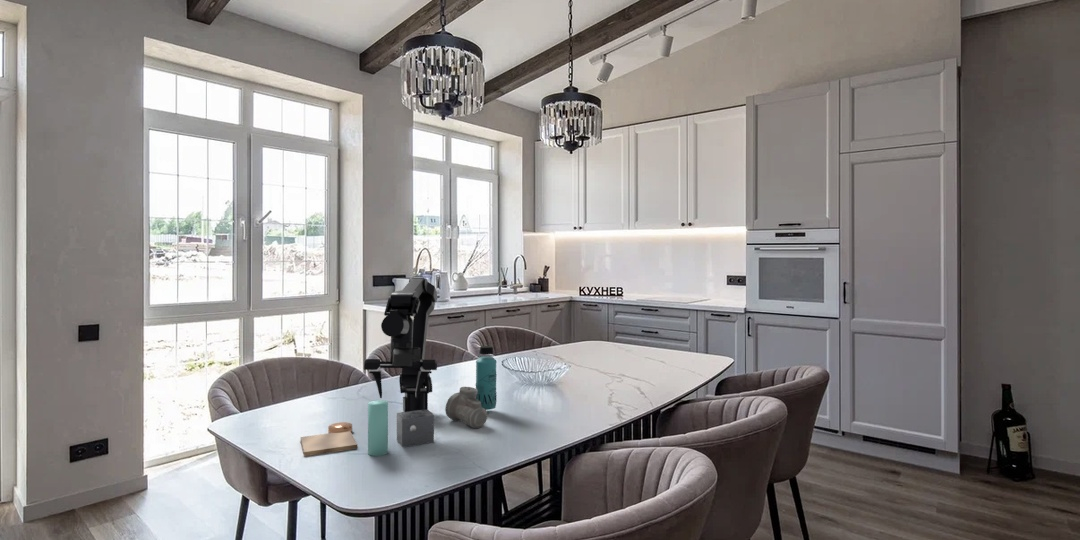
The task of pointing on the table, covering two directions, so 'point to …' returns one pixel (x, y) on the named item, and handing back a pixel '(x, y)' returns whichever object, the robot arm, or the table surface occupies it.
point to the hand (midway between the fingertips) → (398, 397)
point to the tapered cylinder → (377, 428)
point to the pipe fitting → (466, 408)
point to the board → (328, 443)
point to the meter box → (415, 428)
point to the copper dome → (339, 427)
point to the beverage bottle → (486, 379)
